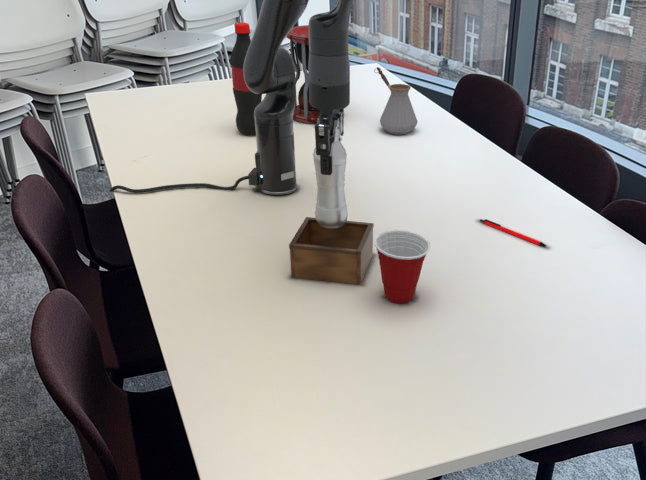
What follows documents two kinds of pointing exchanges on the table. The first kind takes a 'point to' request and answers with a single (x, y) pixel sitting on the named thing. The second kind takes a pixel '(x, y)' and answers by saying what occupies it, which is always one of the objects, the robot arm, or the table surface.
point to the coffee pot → (398, 109)
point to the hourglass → (304, 109)
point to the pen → (512, 232)
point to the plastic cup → (400, 263)
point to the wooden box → (332, 251)
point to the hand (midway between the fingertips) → (330, 167)
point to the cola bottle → (243, 83)
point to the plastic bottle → (331, 189)
